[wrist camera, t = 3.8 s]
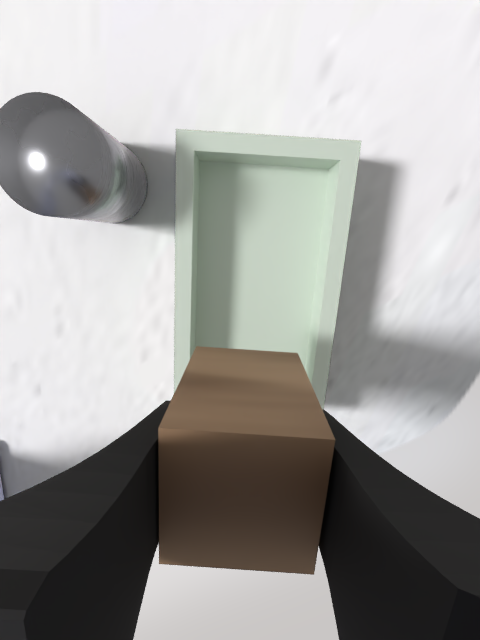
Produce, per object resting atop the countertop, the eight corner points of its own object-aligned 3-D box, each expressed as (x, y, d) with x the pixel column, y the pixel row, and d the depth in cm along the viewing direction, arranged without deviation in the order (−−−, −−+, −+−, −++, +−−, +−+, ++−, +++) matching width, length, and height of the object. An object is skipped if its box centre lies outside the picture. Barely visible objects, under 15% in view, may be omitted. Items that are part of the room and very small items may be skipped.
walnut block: (287, 441, 13) (313, 574, 8) (193, 434, 14) (159, 564, 8) (297, 352, 12) (335, 439, 7) (196, 346, 12) (158, 427, 7)
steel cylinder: (147, 225, 17) (104, 219, 12) (73, 220, 17) (-4, 213, 12) (146, 142, 16) (99, 96, 11) (67, 137, 16) (-20, 88, 11)
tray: (311, 403, 20) (321, 426, 17) (182, 396, 20) (173, 418, 17) (343, 155, 16) (361, 140, 14) (186, 145, 16) (175, 128, 14)
